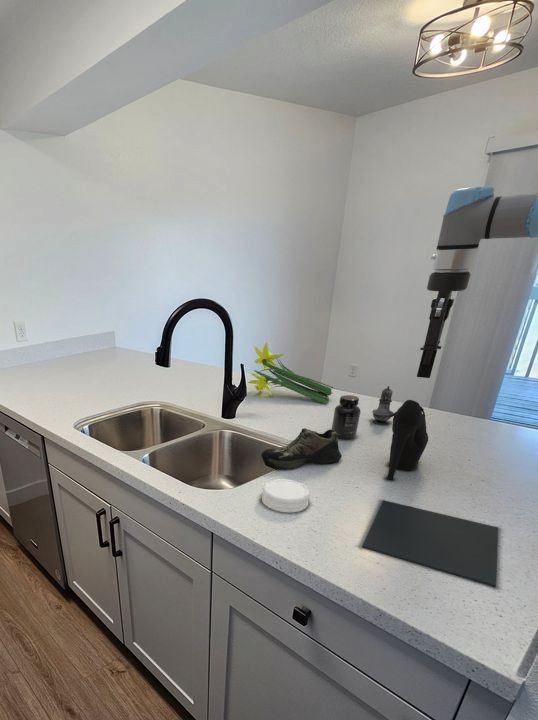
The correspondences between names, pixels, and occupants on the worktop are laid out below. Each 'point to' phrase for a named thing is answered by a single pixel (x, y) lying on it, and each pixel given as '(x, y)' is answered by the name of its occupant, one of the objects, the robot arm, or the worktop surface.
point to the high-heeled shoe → (407, 438)
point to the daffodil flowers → (266, 358)
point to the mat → (435, 541)
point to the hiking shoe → (304, 451)
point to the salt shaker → (383, 408)
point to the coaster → (285, 495)
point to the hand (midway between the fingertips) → (423, 376)
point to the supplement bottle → (346, 417)
